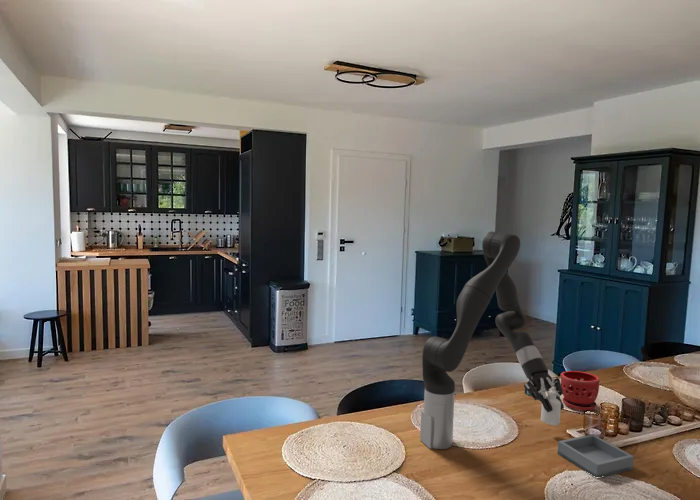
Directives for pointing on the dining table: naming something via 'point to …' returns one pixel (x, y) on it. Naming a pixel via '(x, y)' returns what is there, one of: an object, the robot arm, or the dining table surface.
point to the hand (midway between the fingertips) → (555, 410)
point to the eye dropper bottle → (554, 415)
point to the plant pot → (579, 390)
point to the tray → (595, 455)
